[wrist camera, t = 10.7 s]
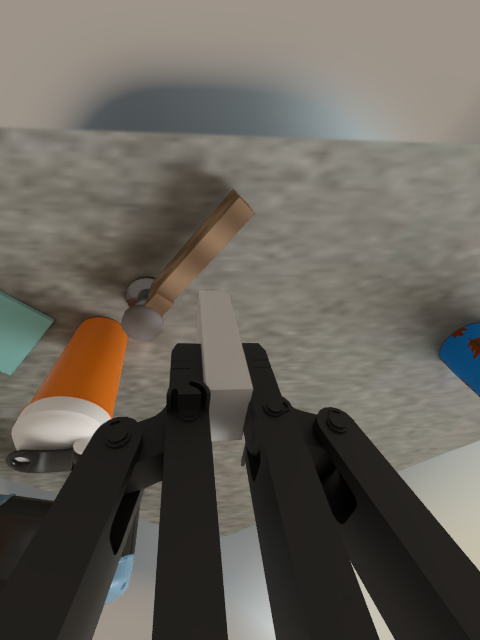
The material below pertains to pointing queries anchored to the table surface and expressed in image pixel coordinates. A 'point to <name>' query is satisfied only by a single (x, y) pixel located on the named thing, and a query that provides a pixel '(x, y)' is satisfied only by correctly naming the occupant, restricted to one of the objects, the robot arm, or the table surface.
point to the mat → (18, 331)
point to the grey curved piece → (139, 291)
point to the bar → (186, 267)
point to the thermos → (464, 355)
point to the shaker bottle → (71, 400)
